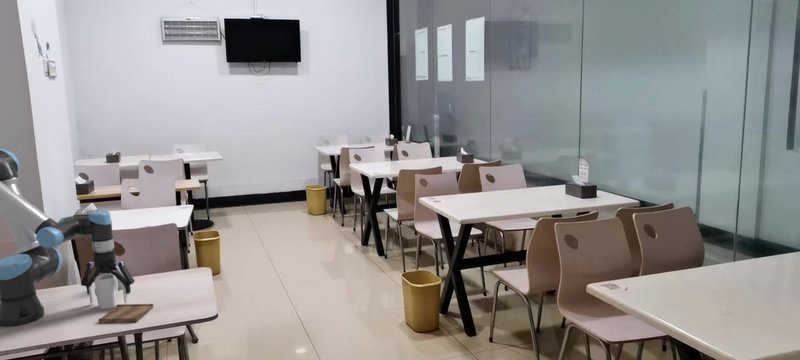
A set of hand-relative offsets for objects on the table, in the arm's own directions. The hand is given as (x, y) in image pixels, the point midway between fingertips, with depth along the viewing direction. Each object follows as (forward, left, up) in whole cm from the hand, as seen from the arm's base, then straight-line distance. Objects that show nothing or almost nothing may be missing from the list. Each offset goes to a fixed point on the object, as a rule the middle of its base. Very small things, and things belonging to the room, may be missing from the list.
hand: (110, 301), depth 231 cm
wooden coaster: (+12, -11, -1) cm, 16 cm away
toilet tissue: (-8, +21, -2) cm, 22 cm away
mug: (0, 0, -1) cm, 1 cm away
